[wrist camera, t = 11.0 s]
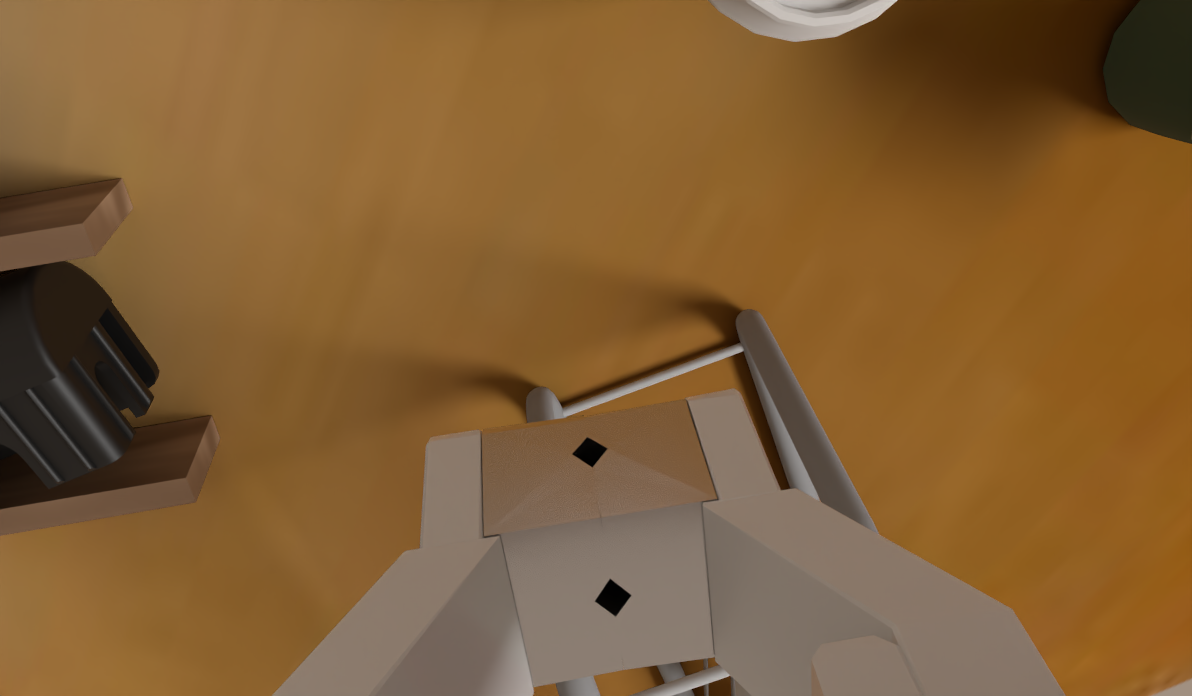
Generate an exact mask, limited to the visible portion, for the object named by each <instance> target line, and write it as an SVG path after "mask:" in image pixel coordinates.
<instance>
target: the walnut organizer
mask: <svg viewBox="0 0 1192 696" xmlns="http://www.w3.org/2000/svg"><path fill="white" fill-rule="evenodd" d="M132 209H133V206H132V204H131V201H130V198H129V196H128V193H127V190H126V188H125V185H124V182H123V180H122V178H121V179H115V180H109V181H103V182H97V183H90V184H84V185H78V186H72V187H66V188H60V189H54V190H47V191H41V192H35V193H29V194H23V195H17V196H10V197H4V198H0V271H5V270H11V269H17V268H23V267H30V266H36V265H42V264H48V263H54V262H60V261H66V260H72V259H78V258H84V257H91V256H96V255H97V253H98V252H99V251H100V250H101V248H102V247H103V246H104V245H105V243H106V242H107V241H108V240H109V238H110V237H111V236H112V234H113V233H114V232H115V231H116V229H117V228H118V227H119V226H120V224H121V223H122V222H123V220H124V219H125V218H126V217H127V215H128V214H129V213H130V212H131V210H132ZM134 430H135V431H136V434H135V436H134V438H133V440H132V442H131V443H130V445H129V447H128V449H127V451H126V452H125V453H124V454H123V455H122V456H121V457H120V458H119V459H117V460H116V461H114V462H113V463H111V464H109V465H107V466H104V467H102V468H99V469H97V470H94V471H92V472H89V473H87V474H85V475H82V476H80V477H77V478H75V479H72V480H70V481H67V482H65V483H62V484H60V485H58V486H55V487H53V488H50V489H48V488H47V486H46V485H45V484H44V483H43V482H42V480H41V479H40V478H39V477H38V476H37V475H36V473H35V472H34V471H33V470H32V469H31V467H30V466H29V465H28V464H27V463H26V462H25V460H24V459H23V458H22V457H21V456H20V455H19V454H18V453H16V454H14V455H12V456H9V457H7V458H4V459H2V460H0V536H1V535H7V534H13V533H19V532H25V531H31V530H36V529H42V528H48V527H54V526H60V525H66V524H72V523H77V522H83V521H89V520H95V519H101V518H107V517H113V516H118V515H124V514H130V513H136V512H142V511H148V510H154V509H160V508H165V507H171V506H177V505H183V504H189V503H195V502H196V501H197V498H198V496H199V493H200V491H201V488H202V485H203V483H204V480H205V477H206V475H207V472H208V470H209V467H210V464H211V462H212V459H213V456H214V454H215V451H216V449H217V446H218V443H219V441H220V437H219V434H218V431H217V429H216V426H215V423H214V421H213V418H212V416H206V417H200V418H194V419H188V420H182V421H176V422H170V423H164V424H159V425H153V426H147V427H141V428H135V429H134Z"/></svg>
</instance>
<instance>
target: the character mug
mask: <svg viewBox="0 0 1192 696" xmlns="http://www.w3.org/2000/svg"><path fill="white" fill-rule="evenodd" d="M1103 74H1104V80H1105V85H1106V91H1107V97H1108V102H1109V103H1110V104H1111V105H1112V106H1113V107H1114V108H1115V109H1116V110H1117V112H1118V113H1119V114H1120V115H1121V116H1122V117H1123V118H1124V119H1125V120H1126V121H1127V122H1128V123H1129V124H1130V125H1132V126H1135V127H1138V128H1140V129H1143V130H1146V131H1149V132H1152V133H1155V134H1158V135H1161V136H1165V137H1168V138H1172V139H1176V140H1179V141H1183V142H1187V143H1190V144H1192V0H1140V1H1139V2H1138V3H1137V5H1136V6H1135V7H1134V9H1133V10H1132V11H1131V12H1130V14H1129V15H1128V16H1127V17H1126V19H1125V20H1124V21H1123V23H1122V24H1121V25H1120V26H1119V28H1118V29H1117V30H1116V31H1115V33H1114V36H1113V39H1112V42H1111V45H1110V48H1109V51H1108V54H1107V57H1106V60H1105V63H1104V67H1103Z"/></svg>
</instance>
